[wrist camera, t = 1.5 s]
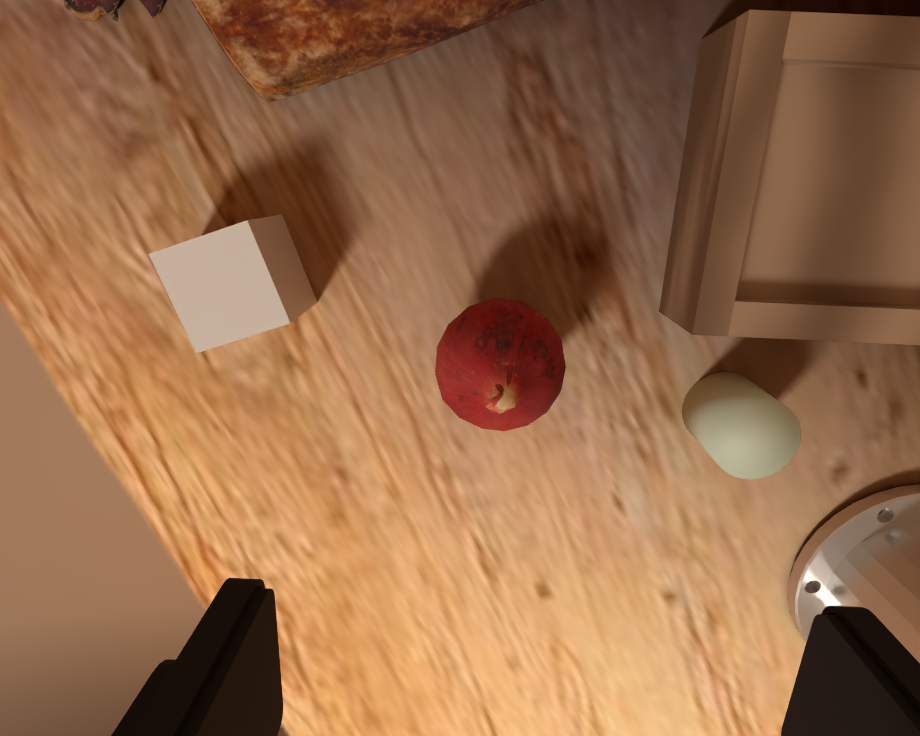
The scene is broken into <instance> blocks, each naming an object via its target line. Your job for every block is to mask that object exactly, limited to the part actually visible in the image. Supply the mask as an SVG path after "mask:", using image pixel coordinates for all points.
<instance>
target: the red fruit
mask: <svg viewBox="0 0 920 736" xmlns="http://www.w3.org/2000/svg"><path fill="white" fill-rule="evenodd" d="M565 368H566V367H565V360H564V354H563V347H562V341H561V338H560V337H559V335H558V334H557V332H556V331H555V329H554V328H553V326H552V325H551V323H550V322H549V320H548V319H547V318H546V317H544V316H543V315H541V314H540V313H538V312H537V311H535V310H534V309H532V308H531V307H529V306H527V305H526V304H524V303H523V302H520V301H513V300H505V299H498V298H494V299H491V300H488V301H485V302H482V303H479V304H475V305H472V306H470V307H468V308H467V309H465V310H464V311H463V312H462V313H461V314H460V315H459V316H458V317H457V318H455V319H454V320H453V321H452V322H451V323H450V324H449V325H448V326H447V328H446V330H445V332H444V334H443V336H442V338H441V340H440V342H439V344H438V346H437V357H436V370H435V372H436V378H437V382H438V385H439V389H440V392H441V396H442V399H443V400H444V402H445V403H446V404H447V405H448V406H449V407H450V408H451V409H452V410H453V411H454V412H455V413H456V415H457V416H458V417H459V418H461V419H463V420H466V421H468V422H470V423H472V424H474V425H476V426H478V427H480V428H482V429H490V430H499V431H507V430H511V429H515V428H519V427H523V426H527V425H529V424H530V423H532V422H533V421H535V420H536V419H538V418H539V417H541V416H542V415H544V414H545V413H546V412H547V411H548V410H549V408H550V407H551V405H552V404H553V402H554V401H555V399H556V398H557V396H558V395H559V393H560V391H561V389H562V383H563V378H564V373H565Z"/></svg>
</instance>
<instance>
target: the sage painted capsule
mask: <svg viewBox="0 0 920 736" xmlns="http://www.w3.org/2000/svg"><path fill="white" fill-rule="evenodd" d="M682 417H683V421H684V424H685V426H686V428H687V429H688V430H689V432H690V433H691V434H692V435H693V436H694V437H695V439H696V440H697V441H698V442H699V443H700V444H701V445H702V447H703V448H704V449H705V450H706V451H707V452H708V454H709V455H710V456H711V457H712V458H713V459H714V460H715V462H716V463H717V464H718V465H719V466H720V467H721V468H722V469H723V470H724V471H725V472H727V473H728V474H730V475H732V476H735V477H737V478H742V479H759V478H763V477H766V476H769V475H772V474H774V473H776V472H777V471H779V470H781V469H782V468H783V467H784V466H786V465H787V464H788V463H789V462H790V460H791V459H792V458H793V457H794V455H795V453H796V452H797V450H798V447H799V444H800V440H801V427H800V424H799V421H798V419H797V417H796V416H795V414H794V413H793V412H792V411H791V410H790V409H789V408H788V407H786V406H785V405H783V404H782V403H781V402H779V401H778V400H776V399H775V398H774V397H772V396H771V395H770V394H768V393H767V392H765V391H764V390H763V389H761V388H760V387H758V386H757V385H756V384H754V383H753V382H751V381H750V380H749V379H747V378H746V377H744V376H742V375H740V374H737V373H733V372H719V373H714V374H711V375H708V376H706V377H704V378H702V379H701V380H699V381H698V382H697V383H696V384H695V385H694V386H693V387H692V388H691V389H690V390H689V392H688V393H687V395H686V397H685V399H684V402H683V406H682Z"/></svg>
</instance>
